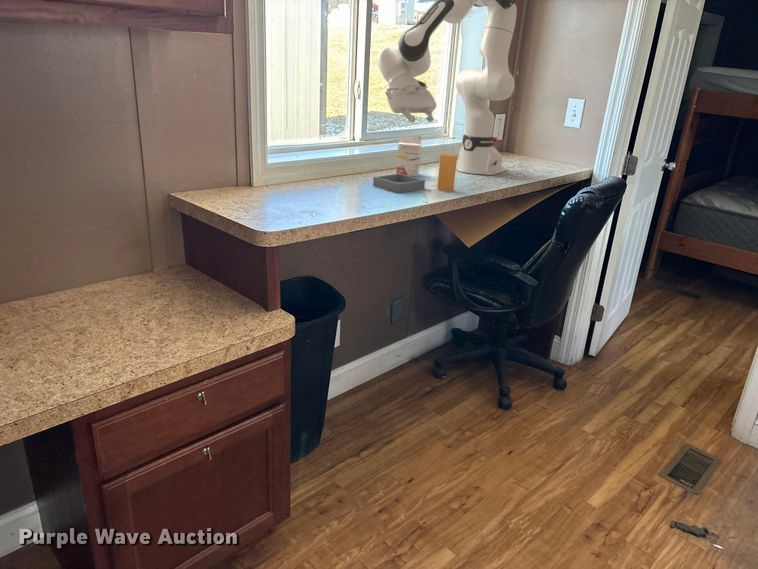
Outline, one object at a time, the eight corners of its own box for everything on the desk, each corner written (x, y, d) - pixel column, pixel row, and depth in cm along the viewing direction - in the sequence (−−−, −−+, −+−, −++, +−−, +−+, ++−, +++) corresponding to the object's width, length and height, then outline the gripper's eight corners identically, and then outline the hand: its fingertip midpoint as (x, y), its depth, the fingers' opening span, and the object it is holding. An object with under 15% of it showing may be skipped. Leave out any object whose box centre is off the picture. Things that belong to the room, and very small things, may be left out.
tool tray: (398, 181, 202) (399, 173, 201) (424, 188, 194) (425, 180, 192) (372, 185, 194) (373, 176, 192) (398, 193, 185) (399, 184, 184)
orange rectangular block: (444, 187, 197) (448, 153, 192) (453, 190, 194) (457, 155, 190) (437, 189, 194) (440, 154, 190) (446, 191, 192) (449, 156, 187)
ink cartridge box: (395, 174, 213) (398, 135, 207) (396, 172, 218) (399, 133, 212) (418, 176, 213) (421, 136, 207) (418, 173, 217) (422, 135, 211)
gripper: (388, 81, 188) (406, 115, 185) (429, 83, 201) (446, 114, 199) (378, 94, 193) (396, 127, 190) (418, 95, 206) (435, 126, 203)
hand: (422, 121), depth 194 cm, fingers open, 8 cm apart
